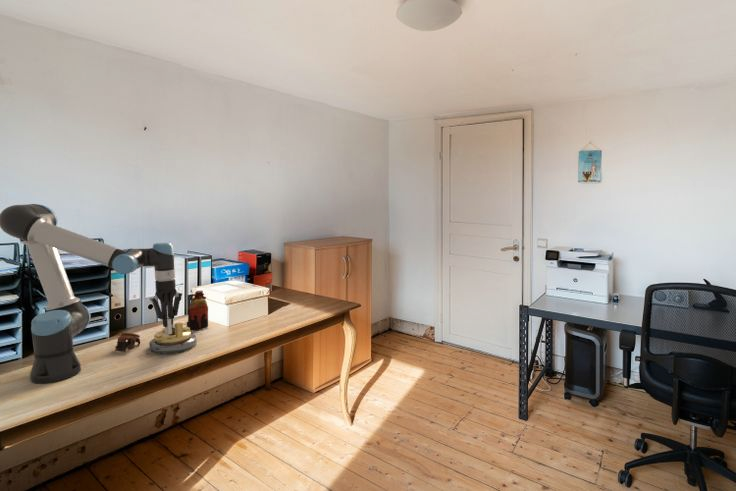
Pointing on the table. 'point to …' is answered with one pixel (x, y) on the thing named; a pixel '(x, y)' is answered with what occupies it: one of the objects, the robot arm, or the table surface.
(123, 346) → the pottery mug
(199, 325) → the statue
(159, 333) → the gold lug disc
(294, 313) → the table surface
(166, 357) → the table surface
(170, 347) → the base
